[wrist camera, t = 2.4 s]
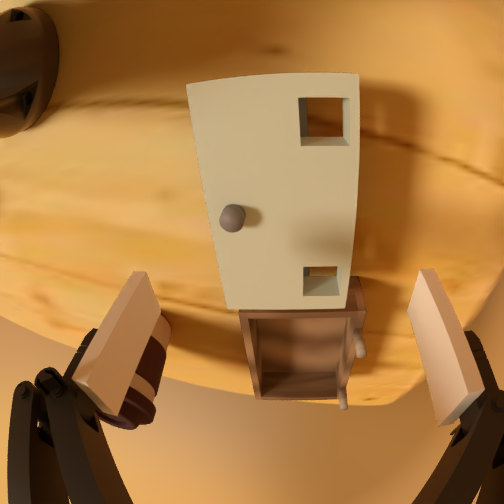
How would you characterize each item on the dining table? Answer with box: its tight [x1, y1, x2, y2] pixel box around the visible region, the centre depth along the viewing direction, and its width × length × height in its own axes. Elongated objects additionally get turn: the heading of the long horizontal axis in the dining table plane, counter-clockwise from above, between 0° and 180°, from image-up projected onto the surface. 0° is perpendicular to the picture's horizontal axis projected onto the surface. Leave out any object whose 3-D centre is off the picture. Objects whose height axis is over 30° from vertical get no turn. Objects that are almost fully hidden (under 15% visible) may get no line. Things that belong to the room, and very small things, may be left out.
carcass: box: [239, 276, 367, 410], centre depth 33 cm, size 18×12×8 cm
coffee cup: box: [95, 314, 171, 430], centre depth 32 cm, size 10×10×15 cm
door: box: [186, 72, 360, 310], centre depth 20 cm, size 18×10×4 cm, turn 6°
